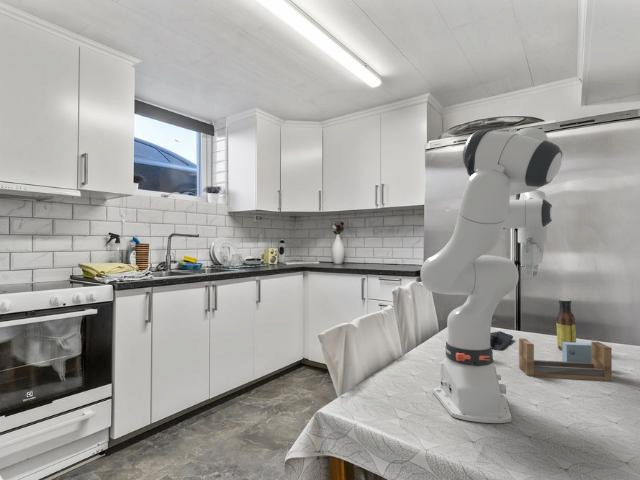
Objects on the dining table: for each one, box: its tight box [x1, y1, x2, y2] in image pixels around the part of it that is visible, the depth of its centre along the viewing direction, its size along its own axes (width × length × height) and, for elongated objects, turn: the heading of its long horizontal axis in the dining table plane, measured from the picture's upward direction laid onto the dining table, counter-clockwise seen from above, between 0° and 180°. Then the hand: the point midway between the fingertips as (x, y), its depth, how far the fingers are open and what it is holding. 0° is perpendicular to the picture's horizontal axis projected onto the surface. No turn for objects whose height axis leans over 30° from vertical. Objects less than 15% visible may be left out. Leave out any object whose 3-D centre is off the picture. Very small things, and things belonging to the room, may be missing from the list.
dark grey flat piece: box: [490, 330, 514, 351], centre depth 153 cm, size 15×22×5 cm
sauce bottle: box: [556, 298, 577, 351], centre depth 142 cm, size 7×6×20 cm
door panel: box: [561, 342, 592, 363], centre depth 122 cm, size 4×10×8 cm, turn 80°
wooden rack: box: [518, 337, 613, 382], centre depth 116 cm, size 8×24×10 cm, turn 80°
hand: (531, 277), depth 125 cm, fingers open, 8 cm apart
